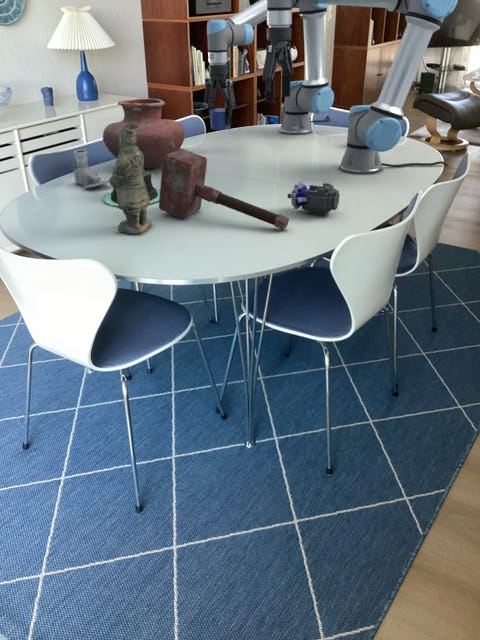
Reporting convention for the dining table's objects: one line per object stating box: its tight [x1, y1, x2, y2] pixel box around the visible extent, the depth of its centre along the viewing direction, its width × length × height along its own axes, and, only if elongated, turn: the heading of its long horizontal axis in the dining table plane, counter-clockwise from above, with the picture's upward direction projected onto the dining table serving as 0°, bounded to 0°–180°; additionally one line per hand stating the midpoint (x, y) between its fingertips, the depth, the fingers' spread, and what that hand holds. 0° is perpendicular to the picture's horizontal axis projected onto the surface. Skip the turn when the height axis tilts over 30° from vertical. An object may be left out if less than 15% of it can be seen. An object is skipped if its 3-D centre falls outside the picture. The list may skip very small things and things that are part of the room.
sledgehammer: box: [158, 148, 290, 231], centre depth 163 cm, size 17×10×40 cm
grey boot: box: [73, 148, 110, 189], centre depth 197 cm, size 9×12×15 cm
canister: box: [209, 107, 231, 131], centre depth 231 cm, size 8×8×7 cm
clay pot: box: [102, 98, 186, 169], centre depth 213 cm, size 30×30×25 cm
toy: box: [287, 180, 341, 216], centre depth 168 cm, size 9×9×15 cm
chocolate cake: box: [103, 168, 160, 207], centre depth 186 cm, size 15×19×20 cm
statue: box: [108, 121, 153, 235], centre depth 154 cm, size 11×9×30 cm
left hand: (220, 123), depth 232 cm, fingers closed on canister, 8 cm apart
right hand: (278, 99), depth 181 cm, fingers open, 13 cm apart
